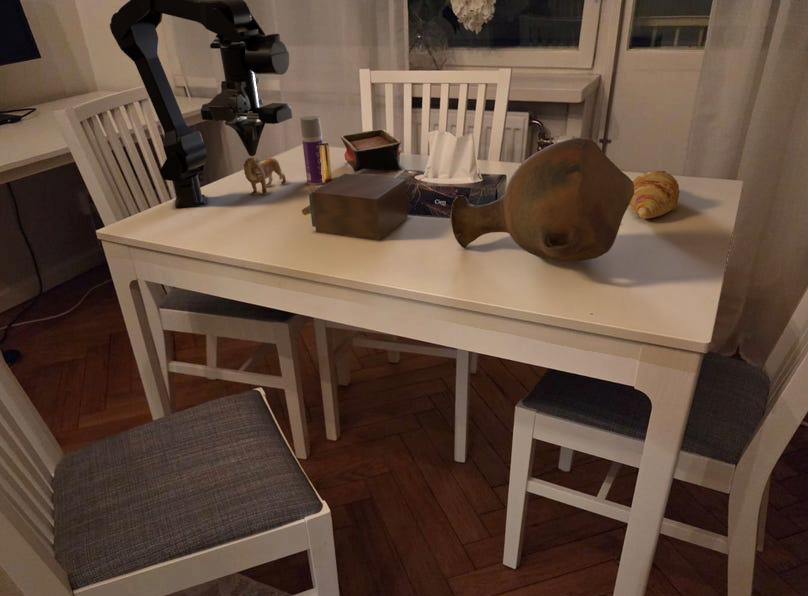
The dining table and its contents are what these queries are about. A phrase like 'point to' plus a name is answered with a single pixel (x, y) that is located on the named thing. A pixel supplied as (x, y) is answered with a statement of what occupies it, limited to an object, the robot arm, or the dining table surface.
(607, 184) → the jug
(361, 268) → the dining table surface
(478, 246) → the dining table surface
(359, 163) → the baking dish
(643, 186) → the croissant
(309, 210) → the drawer
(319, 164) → the container
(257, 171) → the lion figurine
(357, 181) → the cabinet
